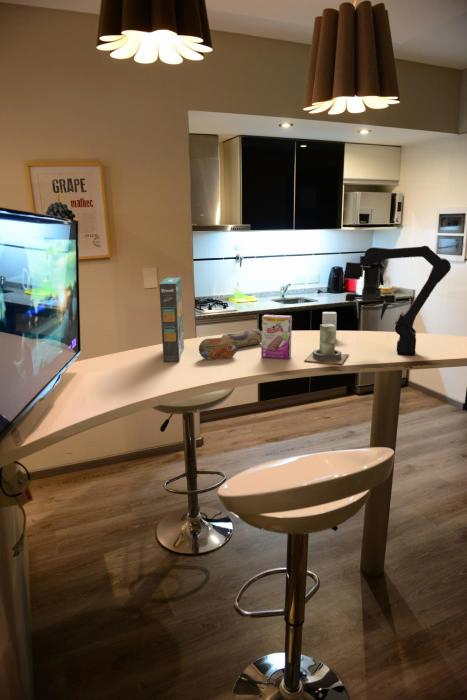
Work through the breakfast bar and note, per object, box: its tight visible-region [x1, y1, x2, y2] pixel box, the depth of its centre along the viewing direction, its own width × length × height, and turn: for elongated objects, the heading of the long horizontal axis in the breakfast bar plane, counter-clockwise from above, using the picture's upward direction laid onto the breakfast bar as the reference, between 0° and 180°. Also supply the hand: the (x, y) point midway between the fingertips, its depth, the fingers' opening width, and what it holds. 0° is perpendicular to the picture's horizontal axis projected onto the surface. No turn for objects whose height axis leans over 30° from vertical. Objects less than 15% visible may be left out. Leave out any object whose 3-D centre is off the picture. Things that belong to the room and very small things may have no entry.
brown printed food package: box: [198, 336, 238, 361], centre depth 179 cm, size 15×3×8 cm, turn 105°
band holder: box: [303, 348, 349, 366], centre depth 177 cm, size 14×14×3 cm
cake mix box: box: [158, 277, 185, 363], centre depth 183 cm, size 22×6×30 cm, turn 1°
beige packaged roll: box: [221, 328, 262, 349], centre depth 196 cm, size 26×8×7 cm, turn 124°
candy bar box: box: [260, 314, 293, 360], centre depth 179 cm, size 11×5×16 cm, turn 74°
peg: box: [318, 324, 337, 355], centre depth 175 cm, size 4×4×12 cm
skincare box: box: [322, 311, 338, 340], centre depth 208 cm, size 6×4×12 cm
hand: (369, 319), depth 185 cm, fingers open, 9 cm apart
